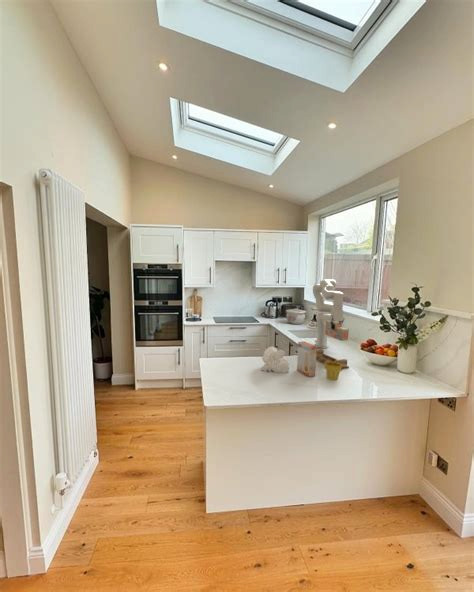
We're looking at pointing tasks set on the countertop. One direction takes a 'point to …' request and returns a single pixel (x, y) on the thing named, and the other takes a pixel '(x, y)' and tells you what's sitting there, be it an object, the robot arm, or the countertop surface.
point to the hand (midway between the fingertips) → (336, 328)
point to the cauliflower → (275, 360)
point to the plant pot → (333, 370)
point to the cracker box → (306, 358)
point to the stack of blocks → (336, 331)
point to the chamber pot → (295, 316)
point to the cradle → (330, 359)
